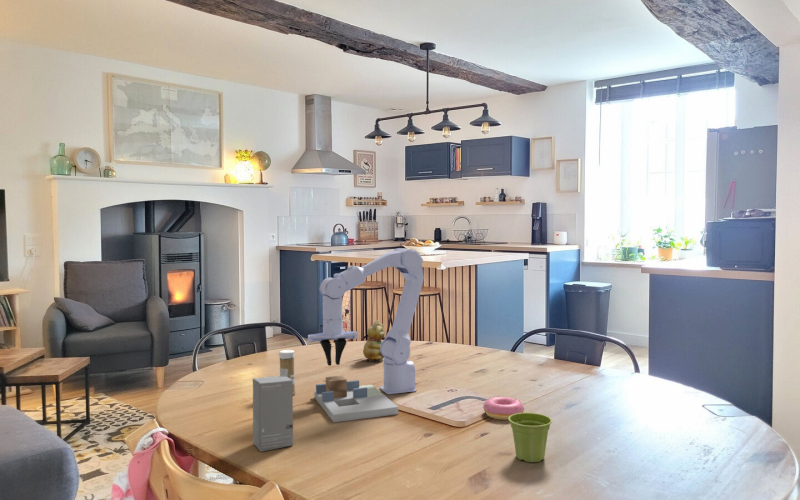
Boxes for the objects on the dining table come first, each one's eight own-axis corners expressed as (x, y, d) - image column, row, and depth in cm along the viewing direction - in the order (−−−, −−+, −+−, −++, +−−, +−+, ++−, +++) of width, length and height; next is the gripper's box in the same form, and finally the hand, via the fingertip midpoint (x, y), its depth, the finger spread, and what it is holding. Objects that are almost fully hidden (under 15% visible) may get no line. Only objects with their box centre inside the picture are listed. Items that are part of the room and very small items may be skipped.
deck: (372, 391, 188) (371, 376, 187) (398, 414, 165) (398, 397, 165) (314, 397, 182) (314, 382, 181) (333, 422, 159) (333, 405, 159)
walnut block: (342, 392, 180) (342, 375, 179) (346, 396, 175) (346, 379, 175) (325, 393, 178) (325, 377, 178) (329, 398, 173) (329, 381, 173)
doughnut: (526, 411, 167) (526, 396, 167) (521, 423, 157) (521, 408, 157) (487, 407, 171) (487, 392, 171) (479, 419, 160) (479, 404, 160)
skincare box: (259, 452, 139) (258, 384, 138) (252, 442, 145) (250, 377, 144) (295, 446, 143) (294, 379, 142) (286, 436, 149) (285, 372, 148)
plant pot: (503, 450, 138) (503, 412, 138) (544, 448, 139) (544, 411, 139) (514, 467, 129) (514, 426, 129) (558, 465, 130) (558, 425, 130)
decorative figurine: (384, 363, 224) (384, 322, 223) (362, 363, 224) (361, 323, 223) (385, 357, 233) (385, 318, 233) (364, 357, 234) (363, 318, 233)
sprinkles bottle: (297, 395, 184) (296, 351, 183) (283, 397, 182) (282, 353, 181) (291, 391, 188) (290, 348, 187) (277, 394, 185) (276, 350, 185)
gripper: (311, 322, 172) (311, 369, 173) (360, 319, 177) (360, 365, 178) (306, 318, 179) (307, 364, 179) (353, 315, 184) (354, 360, 184)
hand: (333, 364), depth 179 cm, fingers closed
